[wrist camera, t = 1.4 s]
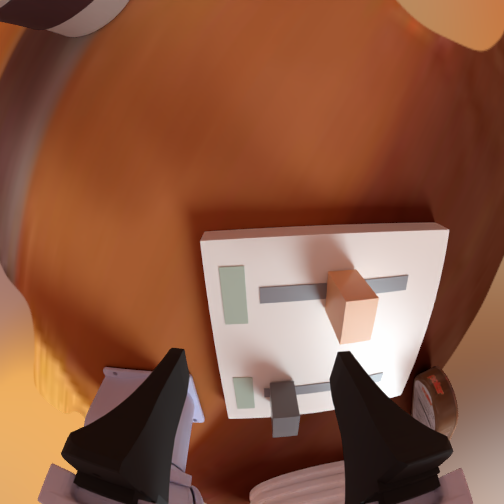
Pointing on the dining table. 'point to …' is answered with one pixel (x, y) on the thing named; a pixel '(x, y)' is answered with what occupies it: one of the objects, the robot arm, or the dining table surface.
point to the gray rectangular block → (284, 409)
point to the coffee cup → (61, 14)
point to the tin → (435, 401)
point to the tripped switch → (350, 306)
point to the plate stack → (304, 486)
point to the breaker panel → (315, 306)
